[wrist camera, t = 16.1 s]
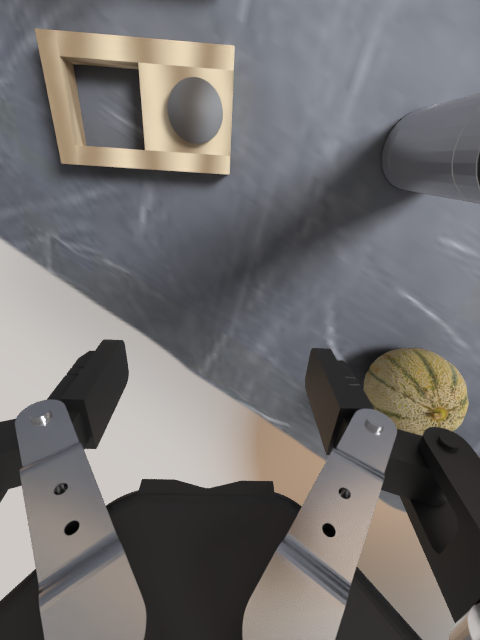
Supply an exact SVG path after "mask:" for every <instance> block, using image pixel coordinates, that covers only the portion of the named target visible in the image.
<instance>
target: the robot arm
mask: <svg viewBox="0 0 480 640" xmlns="http://www.w3.org/2000/svg"><path fill="white" fill-rule="evenodd" d="M382 167H383V171H384V174H385V176H386V178H387V180H388V181H389V182H390V183H391V184H392V185H393V186H395V187H397V188H399V189H402V190H407V191H413V192H418V193H423V194H429V195H434V196H440V197H445V198H451V199H456V200H462V201H468V202H473V203H479V204H480V93H479V94H475V95H471V96H467V97H463V98H460V99H456V100H452V101H448V102H444V103H440V104H436V105H432V106H429V107H425V108H421V109H418V110H416V111H413V112H411V113H409V114H408V115H406V116H405V117H403V118H402V119H401V120H400V121H399V122H398V123H397V124H396V125H395V127H394V128H393V129H392V131H391V132H390V134H389V136H388V138H387V139H386V142H385V145H384V148H383V153H382ZM128 374H129V371H128V363H127V356H126V350H125V344H124V342H123V340H103V341H102V342H101V343H100V345H99V346H98V348H97V349H96V351H89V352H87V353H86V354H84V355H83V356H81V357H80V358H78V360H77V361H76V363H75V364H74V365H73V366H72V368H71V369H70V370H69V372H68V373H67V376H65V377H64V378H63V379H62V381H61V382H60V383H59V384H58V386H57V387H56V388H55V390H54V391H53V392H52V394H51V395H50V396H49V398H48V399H47V400H44V401H40V402H37V403H34V404H32V405H30V406H28V407H27V408H25V409H24V410H23V411H22V412H21V413H20V414H19V415H18V416H17V418H16V419H13V420H8V421H3V422H0V502H1V500H2V499H3V497H4V495H5V494H6V492H7V490H8V489H10V488H14V487H18V486H22V489H23V495H24V501H25V507H26V513H27V519H28V525H29V530H30V537H31V542H32V548H33V554H34V560H35V566H36V569H35V570H34V571H33V572H32V573H31V574H30V575H28V576H27V577H26V578H25V579H24V580H23V581H22V582H21V583H20V584H18V585H17V586H16V587H15V588H14V589H13V590H12V591H11V592H10V593H9V594H8V595H6V596H5V597H4V598H3V599H2V600H1V601H0V640H422V639H421V638H420V637H419V636H418V635H417V633H416V632H415V631H414V630H413V629H412V628H411V627H410V626H409V624H407V622H406V621H405V620H404V619H403V618H402V617H401V616H400V614H399V613H398V612H397V611H396V610H395V609H394V608H393V607H392V606H391V604H390V603H389V602H388V601H387V600H386V599H385V598H384V596H383V595H382V594H381V593H380V592H379V591H378V590H377V589H376V587H375V586H374V585H373V584H372V583H371V582H370V581H369V580H368V579H367V578H366V576H365V575H364V574H363V573H362V572H361V571H360V570H359V568H358V567H357V563H358V560H359V557H360V554H361V551H362V547H363V544H364V541H365V538H366V535H367V532H368V529H369V525H370V522H371V519H372V516H373V513H374V510H375V507H376V503H377V500H378V497H379V494H380V491H381V490H383V491H387V492H390V493H393V494H396V495H399V496H400V498H401V500H402V502H403V505H404V507H405V509H406V512H407V514H408V516H409V519H410V521H411V523H412V525H413V528H414V530H415V532H416V535H417V537H418V539H419V542H420V544H421V546H422V548H423V551H424V553H425V555H426V557H427V560H428V562H429V564H430V567H431V569H432V571H433V573H434V576H435V578H436V580H437V583H438V585H439V587H440V590H441V592H442V594H443V597H444V599H445V601H446V603H447V606H448V608H449V610H450V612H451V615H452V617H453V619H454V622H455V624H454V626H453V627H452V628H451V631H450V635H449V640H480V458H479V457H478V456H477V454H476V453H475V452H474V450H473V449H472V448H471V446H470V445H469V444H468V443H467V442H466V441H465V440H464V439H463V438H462V437H460V436H459V435H457V434H456V433H454V432H452V431H450V430H447V429H445V428H441V427H429V428H427V429H426V430H425V431H424V433H423V435H422V436H421V435H417V434H414V433H410V432H406V431H403V430H400V429H397V428H396V426H395V424H394V422H393V421H392V420H391V419H390V418H389V417H387V416H386V415H385V414H383V413H381V412H379V411H376V410H375V409H374V407H373V406H372V404H371V402H370V400H369V399H368V397H367V395H366V393H365V392H364V390H363V388H362V386H360V383H359V381H358V379H356V376H355V374H354V372H353V370H352V369H351V368H350V367H349V366H348V365H347V364H346V363H344V362H343V361H337V360H336V358H335V356H334V354H333V352H332V350H331V349H323V348H312V350H311V353H310V357H309V362H308V367H307V372H306V377H305V387H306V392H307V395H308V398H309V401H310V405H311V408H312V411H313V414H314V417H315V420H316V424H317V427H318V430H319V433H320V436H321V439H322V443H323V446H324V449H325V452H326V455H329V457H328V459H327V461H326V463H325V465H324V467H323V469H322V470H321V472H320V474H319V476H318V478H317V480H316V481H315V483H314V485H313V487H312V489H311V491H310V493H309V494H308V496H307V498H306V500H305V502H304V504H303V506H300V505H299V504H298V503H296V502H295V501H293V500H291V499H290V498H288V497H286V496H284V495H281V494H279V493H275V492H274V486H273V481H238V482H234V483H230V484H226V485H222V486H217V487H213V488H203V487H199V486H195V485H192V484H188V483H185V482H181V481H178V480H163V479H158V480H157V479H142V482H141V485H140V488H139V490H138V491H134V492H131V493H129V494H126V495H124V496H122V497H120V498H118V499H116V500H114V501H113V502H111V503H109V504H108V505H107V506H105V504H104V501H103V498H102V496H101V493H100V490H99V488H98V485H97V483H96V480H95V477H94V475H93V472H92V470H91V467H90V465H89V462H88V460H87V457H86V454H85V452H84V449H96V448H97V446H98V444H99V442H100V440H101V438H102V436H103V434H104V431H105V429H106V427H107V425H108V423H109V421H110V419H111V416H112V414H113V412H114V410H115V408H116V406H117V404H118V401H119V399H120V397H121V395H122V393H123V391H124V389H125V387H126V384H127V381H128Z"/></svg>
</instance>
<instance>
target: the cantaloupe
mask: <svg viewBox="0 0 480 640" xmlns="http://www.w3.org/2000/svg"><path fill="white" fill-rule="evenodd" d="M363 390H364V392H365V393H366V395H367V397H368V399H369V400H370V402H371V404H372V406H373V407H374V409H375V410H376V411H379V412H381V413H383V414H385V415H386V416H387V417H389V418H390V419H391V420H392V421H393V422H394V424H395V426H396V428H397V429H400V430H403V431H406V432H410V433H414V434H417V435H421V436H422V435H423V433H424V431H425V430H426V429H427V428H429V427H441V428H445V429H447V430H450V431H452V432H453V431H454V430H456V429H457V428H458V427H459V426H460V425H461V423H462V421H463V420H464V417H465V414H466V412H467V408H468V397H467V387H466V384H465V381H464V380H463V377H462V376H461V374H460V373H459V371H458V370H457V369H456V367H454V366H453V365H452V364H451V363H450V362H448V361H446V360H445V359H443V358H442V357H440V356H439V355H437V354H435V353H433V352H431V351H428V350H425V349H421V348H400V349H395V350H391V351H389V352H386V353H385V354H383V355H382V356H379V357H378V358H377V359H376V360H375V361H374V362H373V363H372V364H371V366H370V368H369V370H368V372H367V373H366V375H365V379H364V387H363Z"/></svg>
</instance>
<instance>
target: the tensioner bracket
mask: <svg viewBox="0 0 480 640" xmlns="http://www.w3.org/2000/svg"><path fill="white" fill-rule="evenodd" d="M35 32H36V37H37V42H38V47H39V52H40V58H41V63H42V68H43V73H44V78H45V83H46V88H47V93H48V98H49V103H50V108H51V113H52V118H53V123H54V128H55V133H56V138H57V144H58V149H59V154H60V159H61V164H76V165H91V166H106V167H121V168H136V169H152V170H167V171H182V172H197V173H213V174H228V175H229V174H230V151H231V126H232V100H233V75H234V46H231V45H220V44H208V43H197V42H185V41H174V40H162V39H151V38H139V37H128V36H116V35H105V34H93V33H82V32H70V31H59V30H47V29H36V28H35ZM73 64H78V65H91V66H103V67H115V68H127V69H139V79H140V92H141V104H142V117H143V130H144V142H145V150H136V149H121V148H107V147H92V146H86V141H85V134H84V128H83V122H82V115H81V109H80V103H79V97H78V90H77V84H76V78H75V71H74V65H73Z"/></svg>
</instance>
